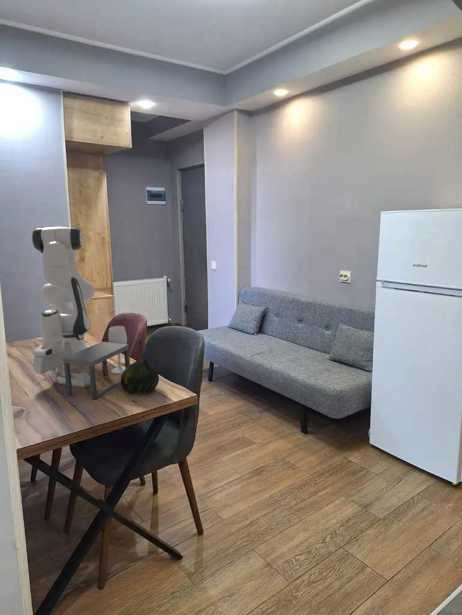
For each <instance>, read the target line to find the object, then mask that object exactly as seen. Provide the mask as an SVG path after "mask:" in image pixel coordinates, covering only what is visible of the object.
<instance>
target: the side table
mask: <svg viewBox="0 0 462 615" xmlns="http://www.w3.org/2000/svg"><path fill="white" fill-rule="evenodd" d="M119 353H120V354H122V353H124V354H123V355H124V356H123V357H124V367H125V369H126V368H127V367H128V366H129V365H130V364H131V360H130V359H131V358H130V345H129V344H119V343H110V342H109V341H101V342H99V343H95V344H93V345H91V346H89V347H88V346H87V348H86V349H84V350H81V351H79V352H76V353H74V354H72V355H69V356H67V357H64V358H63V361H64V365H63V371H65V380H66V385H65V387H66V396H68V397H71V396H73V386H72V383H71V373H72V372H71V366H70V364H71V365H78V366H83V367H84V366H85V367H88V371H89V373H88V374H89V376H90V384H91V385H90V394H91V395H90V396H91V400H92V401H97V400H98V399H100V398H101V397H103V396H105V395H106V394H108V393H109V392H111V391H113V390H115V389H116V388H118V387H119V386H121V379H120V380H119V381H117V382H115V383H113V384H111V385H110V386H108V387H106V388H105V389H103V390H101V391H99V392H98V389H97V378H96V367H95V366H97V365H98V364H101V367H102V376H103V377H104V378H106V377H108V376H109V371H108V360H109V359H111V358H113V357H115V356H118V354H119Z"/></svg>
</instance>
